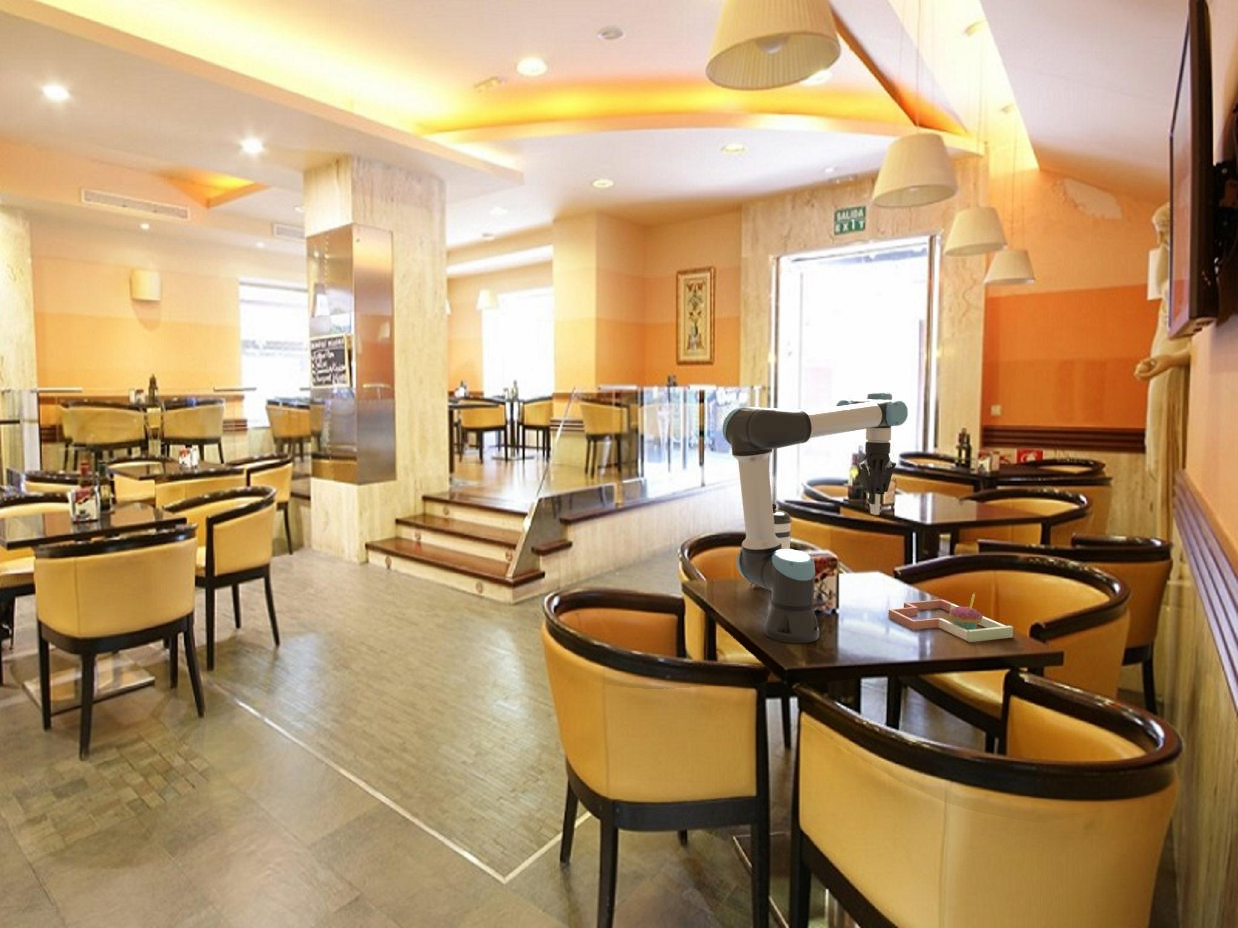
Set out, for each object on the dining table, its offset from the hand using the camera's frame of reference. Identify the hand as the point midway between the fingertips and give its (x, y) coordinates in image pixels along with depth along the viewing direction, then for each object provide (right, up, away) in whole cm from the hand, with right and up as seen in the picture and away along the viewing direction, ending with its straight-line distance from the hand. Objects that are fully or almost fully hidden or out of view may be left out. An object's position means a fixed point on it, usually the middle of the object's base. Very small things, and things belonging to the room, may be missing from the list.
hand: (874, 513), depth 223 cm
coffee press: (-30, -28, +18) cm, 45 cm away
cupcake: (+17, -32, -24) cm, 44 cm away
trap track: (+13, -32, -18) cm, 39 cm away
